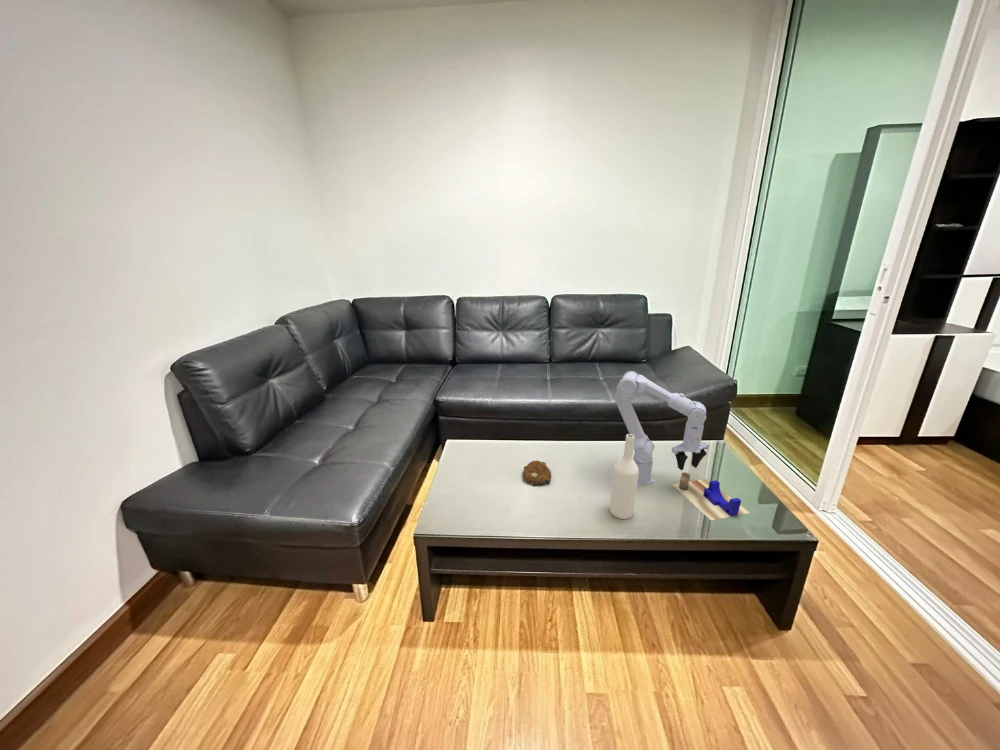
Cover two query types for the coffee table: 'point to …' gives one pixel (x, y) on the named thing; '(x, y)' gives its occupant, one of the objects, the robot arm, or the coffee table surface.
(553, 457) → the coffee table surface
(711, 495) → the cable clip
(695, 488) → the plywood sheet
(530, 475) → the decorative rock
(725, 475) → the coffee table surface
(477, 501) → the coffee table surface
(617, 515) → the bottle
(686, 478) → the cylindrical peg
